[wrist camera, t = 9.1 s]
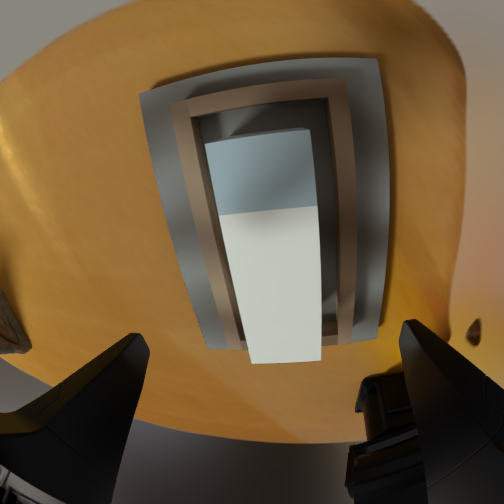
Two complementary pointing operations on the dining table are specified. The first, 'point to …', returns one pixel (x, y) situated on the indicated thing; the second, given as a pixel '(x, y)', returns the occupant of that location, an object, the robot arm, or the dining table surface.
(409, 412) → the robot arm
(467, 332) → the dining table surface
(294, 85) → the cradle jig
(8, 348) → the worn brown figurine
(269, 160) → the pale grey rectangular block
